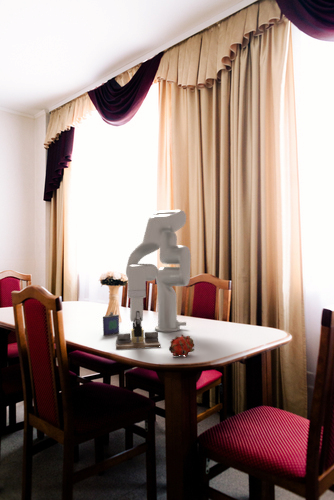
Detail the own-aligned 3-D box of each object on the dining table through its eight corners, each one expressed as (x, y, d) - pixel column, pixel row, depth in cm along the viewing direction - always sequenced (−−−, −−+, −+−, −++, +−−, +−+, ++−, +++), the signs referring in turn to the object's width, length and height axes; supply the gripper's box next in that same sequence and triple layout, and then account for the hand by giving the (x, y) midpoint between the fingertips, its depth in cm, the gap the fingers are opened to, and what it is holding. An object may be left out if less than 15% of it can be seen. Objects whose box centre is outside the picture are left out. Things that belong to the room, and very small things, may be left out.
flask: (116, 332, 186) (116, 310, 186) (120, 333, 184) (120, 311, 184) (101, 335, 179) (101, 312, 179) (105, 336, 177) (105, 313, 177)
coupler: (131, 342, 158) (131, 330, 158) (131, 340, 162) (131, 328, 162) (143, 342, 158) (143, 329, 159) (143, 339, 163) (142, 328, 163)
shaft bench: (156, 339, 168) (156, 328, 168) (160, 347, 154) (160, 335, 154) (115, 341, 166) (115, 330, 166) (116, 349, 152) (116, 336, 152)
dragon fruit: (195, 357, 145) (172, 368, 137) (181, 341, 149) (158, 351, 141) (203, 342, 140) (180, 353, 132) (188, 326, 145) (165, 336, 137)
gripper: (127, 292, 168) (127, 330, 168) (128, 296, 151) (129, 339, 151) (144, 291, 169) (144, 329, 169) (147, 295, 152) (147, 338, 152)
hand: (137, 334), depth 160 cm, fingers open, 9 cm apart
